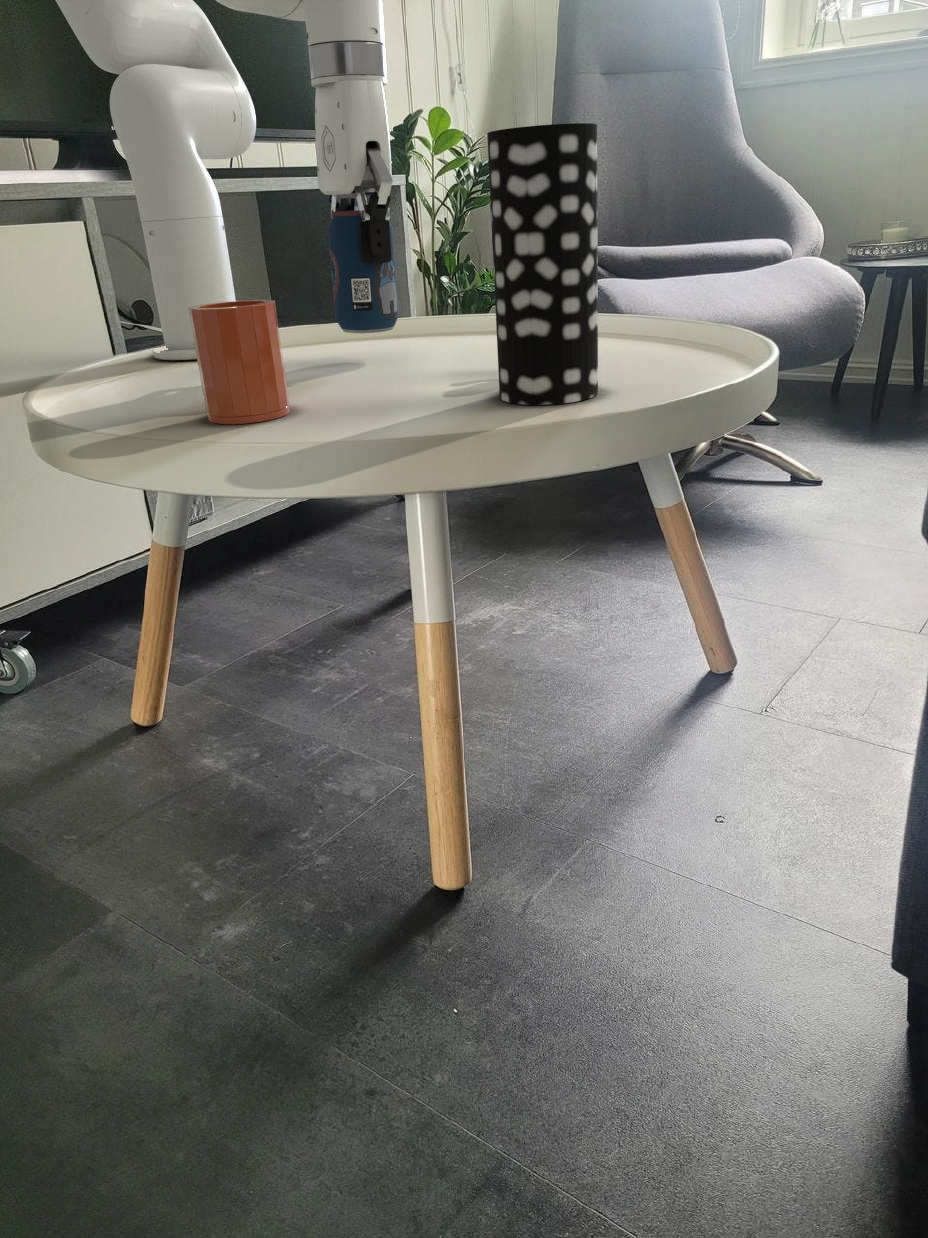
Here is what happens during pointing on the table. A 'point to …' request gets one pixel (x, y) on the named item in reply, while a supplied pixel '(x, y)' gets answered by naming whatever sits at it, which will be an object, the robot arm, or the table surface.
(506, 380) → the spotted tube
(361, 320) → the soda can
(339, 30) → the robot arm
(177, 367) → the table surface
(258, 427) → the table surface
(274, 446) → the table surface
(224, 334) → the coffee cup
